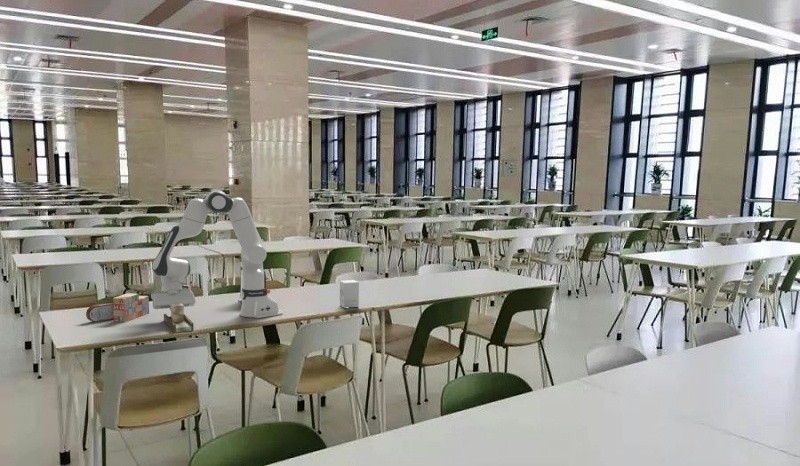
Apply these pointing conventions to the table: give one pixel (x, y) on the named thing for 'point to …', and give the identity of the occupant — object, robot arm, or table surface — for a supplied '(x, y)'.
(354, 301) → the supplement box
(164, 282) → the robot arm
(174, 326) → the walled track
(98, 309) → the tin
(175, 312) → the birch block
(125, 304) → the stack of blocks
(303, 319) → the table surface
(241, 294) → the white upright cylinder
